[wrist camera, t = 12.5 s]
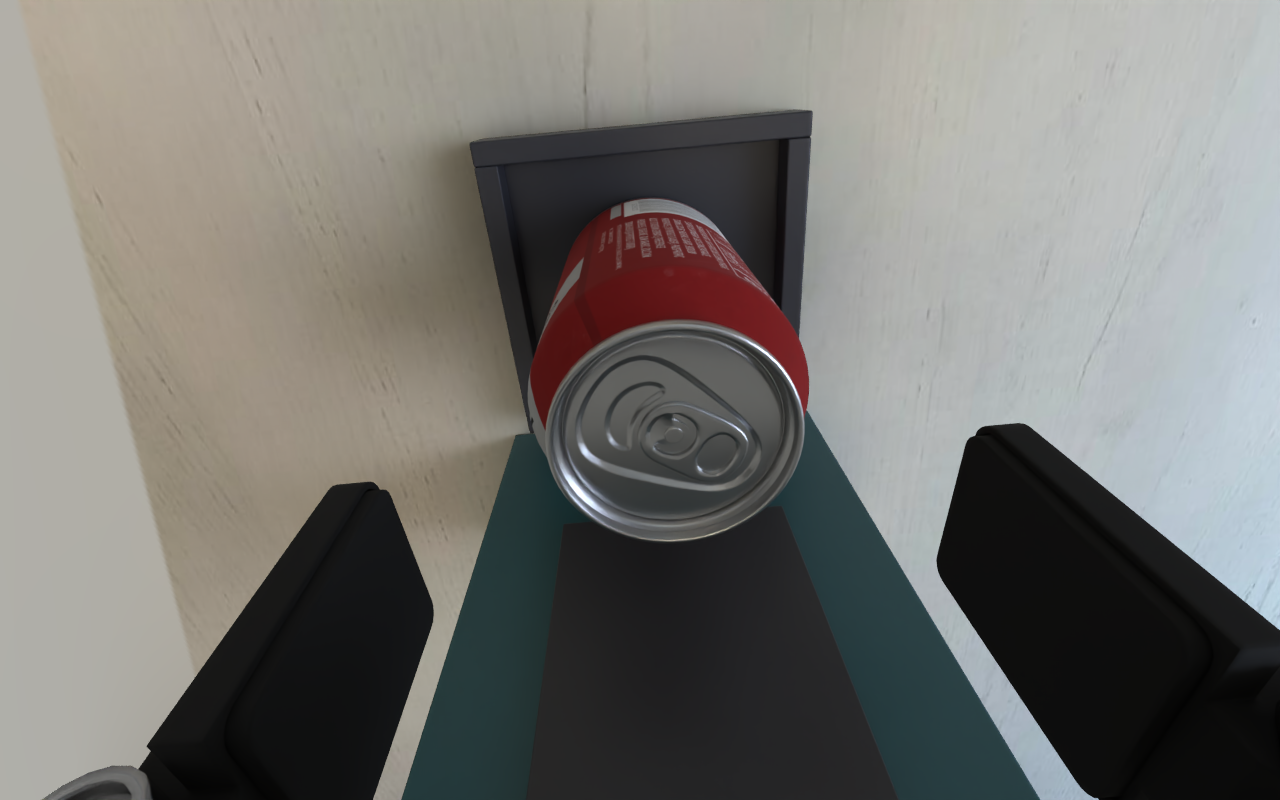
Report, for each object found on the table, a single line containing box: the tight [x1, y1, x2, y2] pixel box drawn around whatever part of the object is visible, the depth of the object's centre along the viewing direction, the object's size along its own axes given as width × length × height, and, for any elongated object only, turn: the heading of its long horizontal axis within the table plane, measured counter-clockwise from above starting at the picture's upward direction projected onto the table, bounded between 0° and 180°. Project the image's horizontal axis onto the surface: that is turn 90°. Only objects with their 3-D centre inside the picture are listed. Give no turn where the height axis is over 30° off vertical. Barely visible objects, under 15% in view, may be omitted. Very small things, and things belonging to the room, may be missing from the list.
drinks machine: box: [401, 411, 1040, 800], centre depth 18 cm, size 7×14×23 cm, turn 95°
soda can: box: [528, 197, 809, 543], centre depth 17 cm, size 7×7×12 cm
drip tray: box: [469, 110, 813, 433], centre depth 22 cm, size 12×12×2 cm
